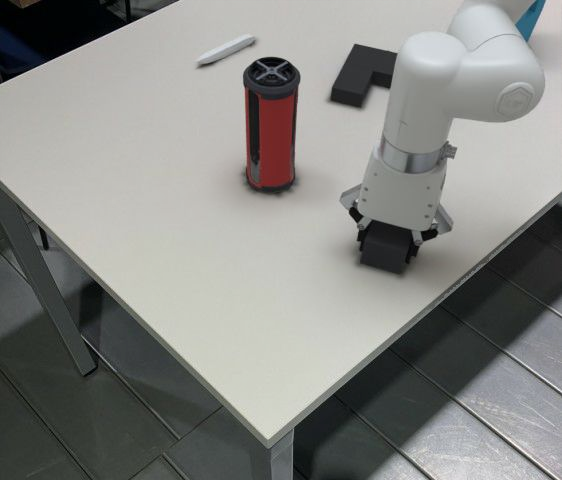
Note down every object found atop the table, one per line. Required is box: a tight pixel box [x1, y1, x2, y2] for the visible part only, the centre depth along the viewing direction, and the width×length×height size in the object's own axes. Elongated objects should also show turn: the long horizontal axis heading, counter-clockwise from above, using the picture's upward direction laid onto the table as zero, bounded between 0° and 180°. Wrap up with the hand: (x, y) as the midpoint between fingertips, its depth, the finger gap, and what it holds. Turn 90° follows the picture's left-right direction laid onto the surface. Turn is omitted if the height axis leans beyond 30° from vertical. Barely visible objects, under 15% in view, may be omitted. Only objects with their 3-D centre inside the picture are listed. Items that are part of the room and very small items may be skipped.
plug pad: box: [359, 219, 412, 275], centre depth 88 cm, size 6×6×4 cm
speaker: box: [242, 56, 302, 193], centre depth 89 cm, size 8×8×18 cm
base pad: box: [330, 43, 398, 108], centre depth 109 cm, size 18×14×2 cm
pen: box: [195, 33, 256, 65], centre depth 113 cm, size 2×14×2 cm, turn 132°
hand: (386, 250), depth 89 cm, fingers closed on plug pad, 6 cm apart
